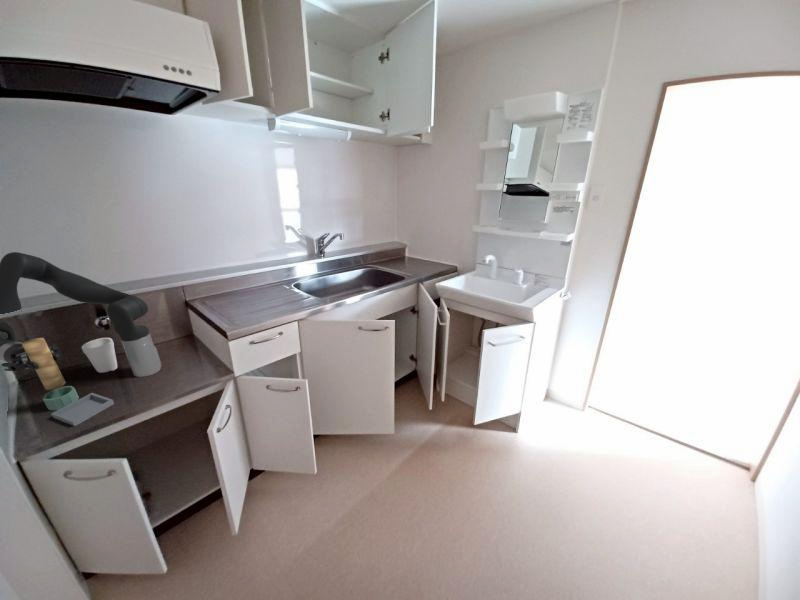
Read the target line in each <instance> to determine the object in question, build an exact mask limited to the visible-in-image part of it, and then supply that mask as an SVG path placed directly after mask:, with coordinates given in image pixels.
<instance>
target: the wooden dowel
mask: <svg viewBox="0 0 800 600" xmlns="http://www.w3.org/2000/svg"><path fill="white" fill-rule="evenodd" d="M21 343H22V346H23V348H24V349H25V351H26V353H27V355H28V357H29V359H30V361H31V362H34V363H36V364H37V365H38V367H39V369H36V370H35V372H36V374H37V376H38V378H39V380H40V382H41V384H42V385H43V387H44V389H45V390H46V391H52V390H55V389H58V388H61V387H64V385H65V384H66V383H67V382H66V381H65V380H66V379H65V378H64V376H63V374H62V372H61V371H60V368H59V365H58V364H57V362H56V360H54V358H53V356H52V354H51V352H50V350H49V348H50V347H49V346H48V343H47V342H46V340H45V338H44V337H36V338H31V339H29V340H25V341H24V342H21Z"/></svg>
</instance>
